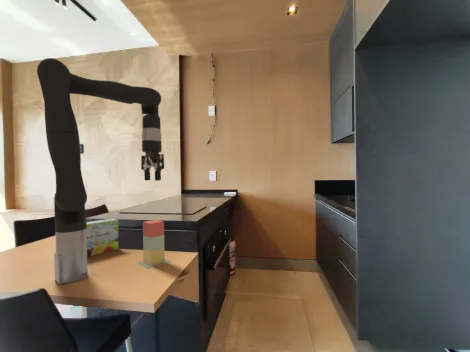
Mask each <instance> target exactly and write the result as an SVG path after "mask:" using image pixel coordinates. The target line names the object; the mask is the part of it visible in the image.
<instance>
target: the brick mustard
mask: <svg viewBox="0 0 470 352" xmlns="http://www.w3.org/2000/svg"><path fill="white" fill-rule="evenodd" d="M142 252H143V254H142V255H143V261H144V263H146V264H148V265H150V266H153V265H156V264H159V263H162V262H165V259H166V258H165V256H166V255H165V248H164V249H160V250H156V251H152V252H150V251H147V250H145V249H142Z"/></svg>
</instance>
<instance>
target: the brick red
mask: <svg viewBox="0 0 470 352" xmlns="http://www.w3.org/2000/svg"><path fill="white" fill-rule="evenodd" d="M161 235H164V236H165V221H164V220H159V219H153V220H148V221H142V237H143V236H146V237H149V238H152V237H157V236H161Z"/></svg>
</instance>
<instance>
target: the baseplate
mask: <svg viewBox="0 0 470 352" xmlns="http://www.w3.org/2000/svg"><path fill="white" fill-rule="evenodd" d="M171 262H172V261H171V260H169V259H167V258H165V262H162V263H159V264H156V265H153V266H150V265H148V264H146V263H144V260H142V261H141V260H140V261H138V262H136V264H138V265H140V266H142V267H144V268H146V269H148V270H150V269H153V268H156V267H158V266H163V265H165V264H169V263H171Z"/></svg>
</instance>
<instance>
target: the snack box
mask: <svg viewBox="0 0 470 352" xmlns="http://www.w3.org/2000/svg"><path fill="white" fill-rule="evenodd" d="M86 222H87V221H86ZM116 250H119V219H116V218H109V219H108V218H107V219H100V220H94V221H92V220H91V221H88V222H87V258H88V257H91V256H96V255H100V254H103V253H108V252H112V251H116Z"/></svg>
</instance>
